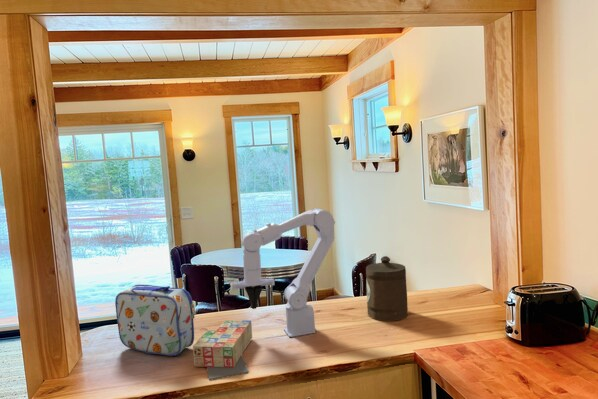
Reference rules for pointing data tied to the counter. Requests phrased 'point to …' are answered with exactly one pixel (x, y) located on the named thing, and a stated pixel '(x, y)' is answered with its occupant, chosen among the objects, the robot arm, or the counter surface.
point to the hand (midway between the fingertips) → (253, 307)
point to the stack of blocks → (223, 344)
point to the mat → (227, 370)
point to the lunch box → (155, 319)
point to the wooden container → (386, 290)
